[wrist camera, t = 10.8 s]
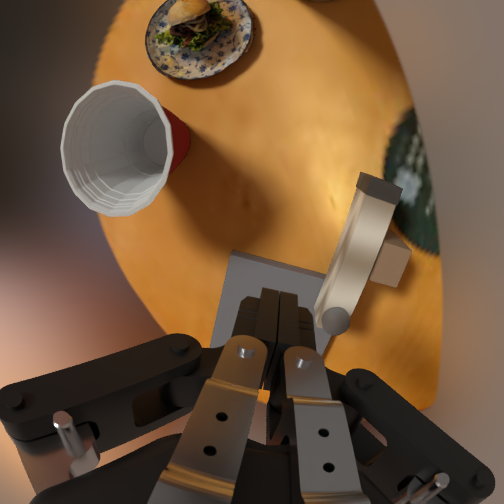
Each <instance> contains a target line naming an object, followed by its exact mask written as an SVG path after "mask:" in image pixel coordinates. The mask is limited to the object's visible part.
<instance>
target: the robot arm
mask: <svg viewBox="0 0 504 504" xmlns="http://www.w3.org/2000/svg"><path fill="white" fill-rule="evenodd" d="M310 1H322V2H325V1H332V0H310ZM313 324H314V321H313V315H312V314H311V312H310V311H309V310H308V308H305V307H299V306H298V295H297V294H293V293H289V292H284V291H280V293H279V290H274V289H269V288H264V287H262V290H261V295H260V298H256V297H251V296H247V297H245V298H244V299H243V300H242V301H241V303H240V306H239V310H238V313H237V317H236V321H235V324H234V328H233V332H232V335H231V338H230V339H229V340H228V341H227V342H226V344H225V345H223V346H220V347H216V348H202V347H201V345H200V343H199V342H198V341H197V340H196V339H195V338H193V337H191V336H189V335H186V334H179V333H175V334H169V335H166V336H163V337H161V338H158V339H155V340H152V341H149V342H146V343H143V344H140V345H137V346H134V347H132V348H129V349H126V350H123V351H120V352H116V353H113V354H110V355H107V356H104V357H101V358H98V359H95V360H92V361H88V362H85V363H82V364H79V365H75V366H72V367H69V368H66V369H62V370H59V371H56V372H52V373H49V374H45V375H42V376H38V377H35V378H32V379H28V380H24V381H20V382H17V383H13V384H10V385H7V386H5V387H3V388H2V389H0V420H1V422H2V423H3V425H4V427H5V430H6V432H7V433H8V435H9V436H10V438H11V439H12V441H13V442H14V444H15V445H16V447H17V450H18V453H19V455H20V458H21V461H22V463H23V465H24V468H25V470H26V473H27V475H28V477H29V479H30V482H31V484H32V486H33V488H34V491H35V492H36V496H35V497H34V498H33V499H32V501H31V502H30V504H479V503H480V502H482V501H483V500H484V499H486V498H487V497H488V496H490V495H491V494H492V492H493V490H494V488H495V478H494V475H493V473H492V472H491V470H490V469H489V468H488V467H487V466H485V465H484V464H483V463H481V462H480V461H479V460H478V459H477V458H475V457H474V456H473V455H472V454H471V453H469V452H468V451H467V450H466V449H464V448H463V447H462V446H460V444H458V443H457V442H456V441H455V440H453V439H452V438H451V437H450V436H448V435H447V434H446V433H445V432H443V430H441V429H440V428H439V427H437V426H436V425H435V424H434V423H433V422H432V421H430V420H429V419H428V418H427V417H426V416H424V415H423V414H422V413H421V412H420V411H418V410H417V409H416V408H415V407H414V406H412V405H411V404H410V403H409V402H408V401H406V400H405V399H404V398H403V397H402V396H400V395H399V394H398V393H397V392H396V391H395V390H393V389H392V388H391V387H390V386H389V385H387V384H386V383H385V382H384V381H383V380H381V379H380V378H379V377H378V376H377V375H375V374H374V373H372V372H371V371H368V370H365V369H359V368H358V369H352V370H350V371H348V372H347V374H346V376H345V375H342V374H339V373H337V372H334V371H332V370H330V369H328V368H327V367H325V365H324V361H323V358H322V357H321V355H320V354H319V353H317V350H316V340H315V331H314V325H313ZM263 383H264V387H263V390H269V391H270V397H269V400H268V402H267V405H266V445H264V444H261V443H258V442H256V441H253V440H250V439H248V434H249V430H250V427H251V423H252V418H253V415H254V411H255V406H256V402H257V398H258V394H259V392H258V390H259V389H262V386H263ZM192 410H193V411H192ZM191 411H192V413H191V415H190V418H189V420H188V422H187V424H186V426H185V429H184V431H183V433H179V434H173V435H169V436H165V437H162V438H159V439H157V440H155V441H153V442H151V443H149V444H147V445H145V446H143V447H141V448H139V449H137V450H135V451H134V452H131V453H129V454H127V455H125V456H123V457H121V458H118V459H116V460H114V461H112V462H110V463H108V464H106V465H103V466H101V467H99V468H96V469H94V468H95V467H96V466H97V465H98V463H99V461H100V453H102V452H105V451H107V450H110V449H112V448H115V447H117V446H119V445H122V444H124V443H126V442H128V441H131V440H133V439H136V438H138V437H140V436H142V435H144V434H147V433H149V432H151V431H153V430H155V429H157V428H159V427H162V426H164V425H166V424H167V423H170V422H172V421H174V420H176V419H178V418H180V417H182V416H184V415H186V414H188V413H189V412H191ZM364 418H365V419H366V420H367V421H368V422H369V423H370V424H371V425H372V426H373V427H374V428H375V429H377V430H378V431H379V432H380V433H381V434H382V435H383V436H384V437H385V438H386V440H387V447H386V446H384V445H383V444H382V443H381V442H380V441H379V440H378V439H377V438H375V436H373V435H372V434H371V433H370V432H369V431H368V430H367V429H366V428H365V427H364V426H363V425H362V424H361V422H362V421H363V420H364ZM93 469H94V470H93Z"/></svg>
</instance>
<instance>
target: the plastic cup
mask: <svg viewBox="0 0 504 504" xmlns="http://www.w3.org/2000/svg"><path fill="white" fill-rule="evenodd" d="M189 147H190V133H189V131H188V129H187V127H186V125H185V123H184V122H182V121H181V120H180V119H179V118H178V117H177V116H175V115H174V114H173V113H172V112H170V111H169V110H167V109H166V108H164V107H163V106H161V104H160V102H159V101H158V100H157V99H156V98H155V97H153V96H152V95H151V94H150V93H148V92H147V91H146V90H145V89H143V88H142V87H141V86H139V85H138V84H135V83H130V82H124V81H119V80H112V81H109V82H106V83H103V84H100V85H97V86H94V87H92V88H91V89H90V90H89V91H88V92H86V93H85V94H84V95H83V96H82V97H81V98H80V99H79V100H78V101H77V102H75V104H74V106H73V108H72V110H71V112H70V114H69V116H68V118H67V120H66V122H65V124H64V129H63V135H62V141H61V155H62V162H63V169H64V173H65V175H66V177H67V180H68V182H69V184H70V186H71V188H72V190H73V192H74V194H75V195H77V196H78V197H79V198H80V200H81V201H82V202H83V203H84V204H85V205H87V207H88V208H90V209H92V210H94V211H96V212H99V213H101V214H104V215H106V216H108V217H115V216H131V215H132V214H134V213H136V212H138V211H139V210H141V209H143V208H145V207H146V206H148V205H150V204H151V203H152V201H153V200H154V198H155V197H156V196H157V194H158V193H159V191H160V190H161V189H162V187H163V186H164V184H165V183H166V181H167V178H168V176H169V175H170V174H171V173H172V172H173V171H174V170H175V168H176V167H177V166H178V165H179V164H180V163H181V162H182V160H183V159H184V158H185V157H186V155H187V153H188V150H189Z"/></svg>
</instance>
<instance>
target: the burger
mask: <svg viewBox="0 0 504 504" xmlns="http://www.w3.org/2000/svg"><path fill="white" fill-rule="evenodd" d="M253 20H254V16H253V13H252V11H251V9H250V8H249V7H248V6H247V4H246V3H245V2H244V1H243V0H167V1H166V2H164V3H163V4H162V5H161V6H160V7H159V8H158V9H157V11H156V12H155V13H154V15H153V16H152V18H151V20H150V22H149V24H148V28H147V31H146V35H145V46H146V51H147V55H148V57H149V59H150V61H151V63H152V65H153V66H154V67H155V68H156V69H157V70H158V72H160V73H161V74H163V75H164V76H168V77H173V78H176V79H179V80H196V79H201V78H205V77H211V76H214V75H217V74H218V73H220V72H221V71H223V70H224V69H225V68H227V67H228V66H230V65H231V64H232V63H234V62H236V61H237V60H238V59H240V57H241V56H242V55H243V54H244V53H245V52H247V51H248V50H249V48H250V46H251V44H252V41H253V38H254V35H255V34H254V33H253V31H254V30H255V29H256V28H254V21H253Z"/></svg>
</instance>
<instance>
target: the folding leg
mask: <svg viewBox="0 0 504 504" xmlns="http://www.w3.org/2000/svg"><path fill="white" fill-rule="evenodd" d="M356 187H357V189H356V192H355V195H354V198H353V201H352V204H351V207H350V210H349V213H348V216H347V219H346V222H345V225H344V228H343V231H342V234H341V236H340V239H339V242H338V245H337V248H336V250H335V253H334V256H333V259H332V261H331V264H330V267H329V269H328V272H327V275H326V277H325V280H324V283H323V285H322V288H321V290H320V293H319V295H318V298H317V300H316V303H315V305H314V312H315V320H316V327H319V328H323V330H324V331H325V332H326V333H327V334H329V335H340V334H342V333H344V332H345V331H346V330H347V329H348V328H349V326H350V317H351V315H352V313H353V311H354V309H355V306H356V304H357V302H358V300H359V297H360V295H361V293H362V291H363V288H364V286H365V284H366V281H367V279H368V277H369V274H370V272H371V270H372V267H373V265H374V262H375V260H376V257H377V255H378V252H379V250H380V247H381V245H382V242H383V239H384V237H385V234H386V232H387V229H388V226H389V223H390V221H391V218H392V215H393V212H394V209H395V206H396V205H398V202H399V199H400V196H401V193H402V190H403V189H402V188H400V187H398V186H396V185H394V184H392V183H390V182H388V181H385V180H383V179H380V178H377V177H374V176H372V175H369V174H366V173H363V172H360V175H359V178H358V181H357V185H356Z"/></svg>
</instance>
